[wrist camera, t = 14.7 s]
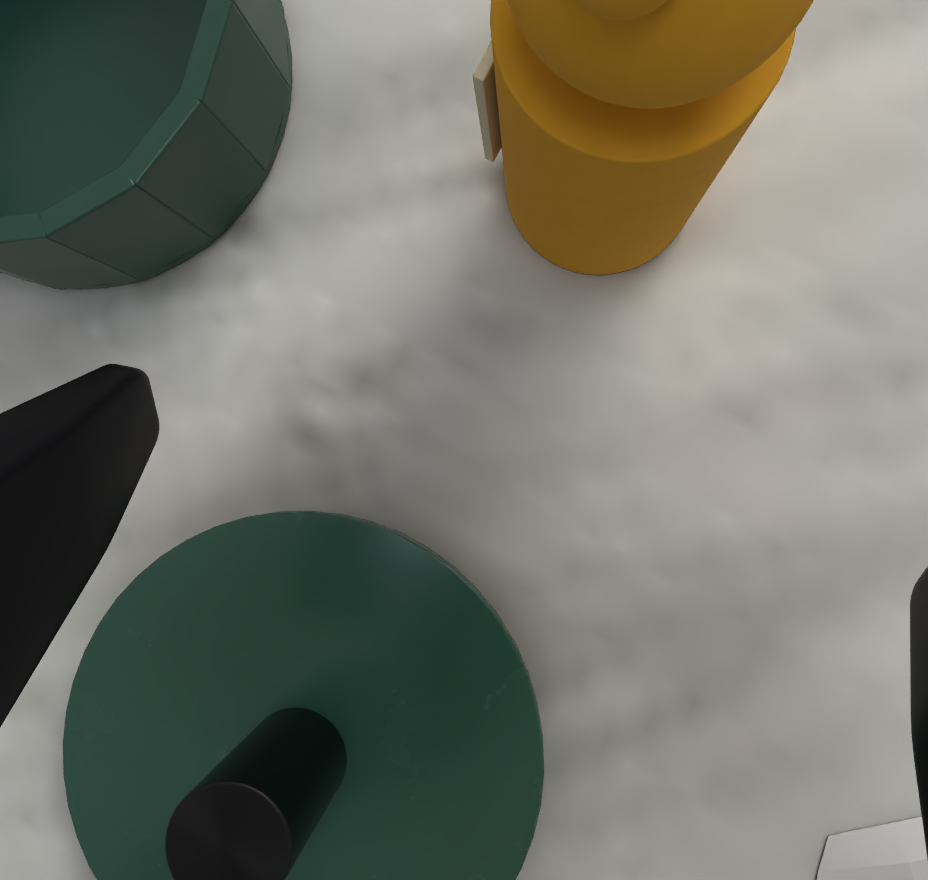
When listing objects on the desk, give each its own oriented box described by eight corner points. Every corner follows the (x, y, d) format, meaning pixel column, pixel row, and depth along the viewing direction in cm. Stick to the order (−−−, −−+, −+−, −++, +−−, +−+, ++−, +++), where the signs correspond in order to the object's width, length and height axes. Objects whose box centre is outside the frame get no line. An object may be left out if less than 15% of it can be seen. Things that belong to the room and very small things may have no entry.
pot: (5, 363, 24) (-133, 339, 19) (-173, 10, 24) (-350, -103, 19) (366, 159, 23) (321, 79, 18) (174, -199, 24) (80, -371, 19)
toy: (730, 140, 22) (1032, -341, 9) (637, 308, 22) (798, 85, 9) (551, 51, 23) (582, -537, 9) (462, 216, 23) (364, -129, 9)
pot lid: (213, 1058, 23) (97, 1278, 17) (7, 641, 23) (-176, 705, 17) (629, 852, 22) (667, 1003, 16) (404, 426, 23) (357, 415, 17)
